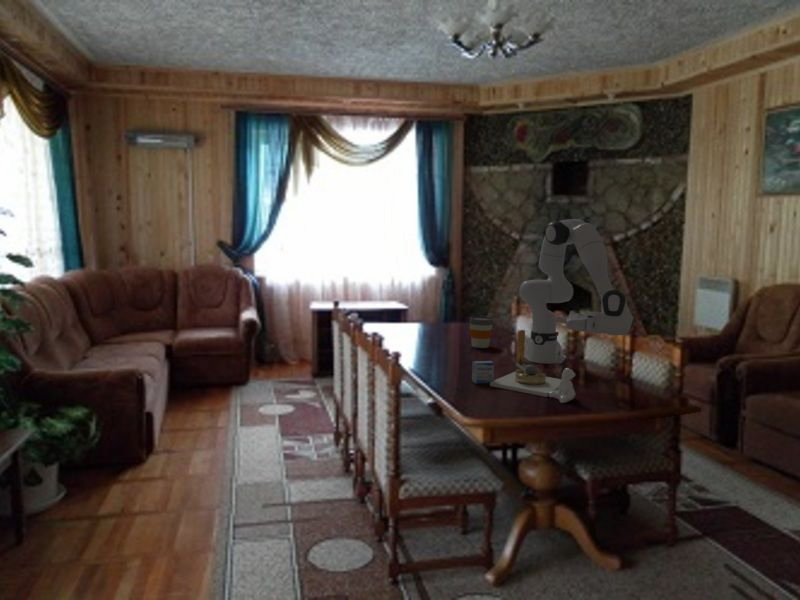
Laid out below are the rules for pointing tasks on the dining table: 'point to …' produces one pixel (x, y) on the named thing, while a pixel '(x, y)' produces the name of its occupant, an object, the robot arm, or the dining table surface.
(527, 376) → the brass disc with post
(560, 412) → the dining table surface
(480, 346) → the reusable coffee cup
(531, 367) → the white rectangular board
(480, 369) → the medicine box
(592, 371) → the dining table surface
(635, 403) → the dining table surface
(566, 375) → the seated beast figurine
